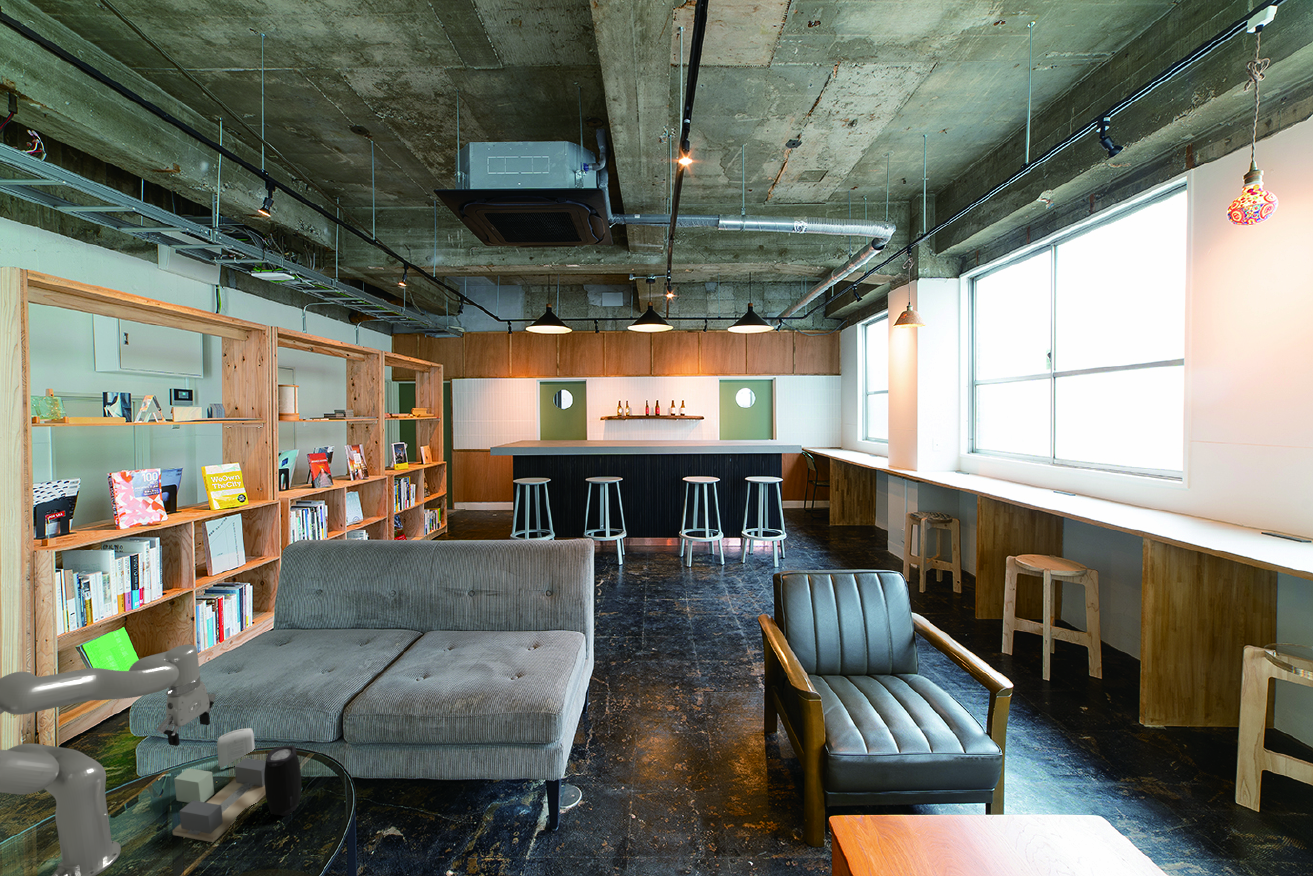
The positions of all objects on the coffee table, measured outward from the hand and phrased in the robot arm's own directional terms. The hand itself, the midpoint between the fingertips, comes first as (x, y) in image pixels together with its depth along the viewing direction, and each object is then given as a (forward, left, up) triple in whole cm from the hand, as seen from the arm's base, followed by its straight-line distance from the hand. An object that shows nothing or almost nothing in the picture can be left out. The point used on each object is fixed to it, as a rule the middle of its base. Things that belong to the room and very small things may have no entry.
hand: (190, 734), depth 172 cm
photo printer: (+15, 0, -23) cm, 27 cm away
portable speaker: (+1, -31, -23) cm, 39 cm away
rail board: (-1, -14, -22) cm, 26 cm away
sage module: (0, 0, -23) cm, 23 cm away
